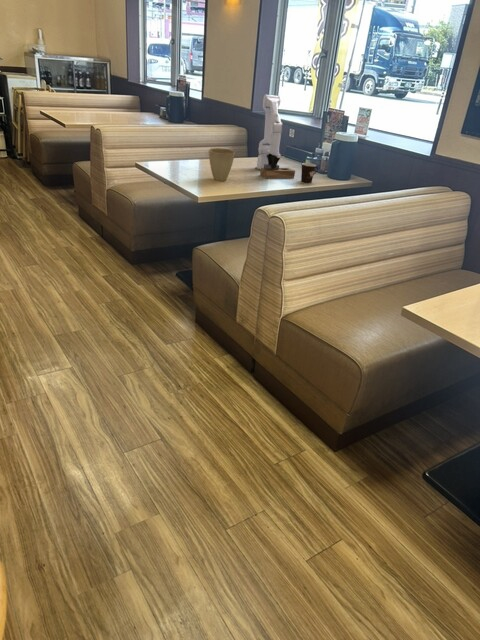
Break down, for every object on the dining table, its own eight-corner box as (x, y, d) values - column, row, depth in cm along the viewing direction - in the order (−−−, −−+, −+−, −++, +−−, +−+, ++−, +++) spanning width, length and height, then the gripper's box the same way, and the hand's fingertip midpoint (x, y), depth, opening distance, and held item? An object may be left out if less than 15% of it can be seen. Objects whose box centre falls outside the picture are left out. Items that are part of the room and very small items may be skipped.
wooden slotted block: (260, 175, 291) (260, 167, 289) (287, 174, 300) (288, 167, 297) (266, 178, 285) (267, 170, 283) (294, 178, 293) (295, 170, 291)
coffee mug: (301, 182, 284) (304, 165, 279) (297, 179, 291) (300, 162, 286) (319, 183, 286) (322, 166, 281) (315, 180, 293) (318, 163, 289)
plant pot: (203, 176, 275) (205, 147, 267) (227, 176, 280) (229, 148, 272) (211, 182, 263) (213, 153, 255) (236, 182, 268) (238, 153, 260)
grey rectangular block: (263, 174, 289) (264, 164, 286) (275, 174, 293) (276, 164, 290) (265, 175, 287) (266, 165, 284) (277, 175, 291) (279, 165, 288)
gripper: (263, 142, 285) (260, 165, 292) (274, 146, 274) (271, 170, 281) (273, 142, 288) (270, 165, 295) (285, 146, 277) (282, 170, 284)
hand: (272, 167), depth 288 cm, fingers open, 3 cm apart
